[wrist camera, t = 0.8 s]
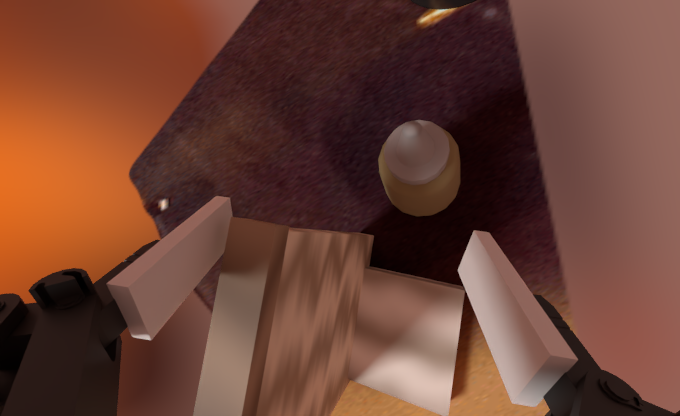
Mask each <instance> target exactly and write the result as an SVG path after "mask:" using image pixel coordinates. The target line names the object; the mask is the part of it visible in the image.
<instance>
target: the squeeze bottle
mask: <svg viewBox="0 0 680 416" xmlns="http://www.w3.org/2000/svg"><path fill="white" fill-rule="evenodd" d="M378 160H379V172H380V176H381V179H382V182H383V185H384V188H385V191H386V193H387V195H388V197H389V199H390V200H391V202H392V204H393V205H394V206H396V207H397V208H398V209H399V210H401V211H402V212H403V213H407V214H410V215H413V216H417V217H418V216H429V215H434V214H436V213H438V212H440V211H442V210H444V209H446V208H447V206H448V205H449V204H450V203H451V202H452V201H453V200H454V198H455V197H456V195H457V192H458V188H459V185H460V156H459V149H458V145H457V143H456V142H455V140H454V139H453V137H452V136H451V134H450V133H449V132H447V131H445V130H444V129H442V128H441V127H439V126H437V125H435V124H434V123H432V122H429V121H423V120H415V121H410V122H406V123H404V124H403V125H401V126H399V127H398V128H396V129H395V130H394V131H393V132H392V134H391V135H390V136H389V137H388V139H387V141H386V142H385V143H384V145H383V147H382V150H381V153H380V156H379V159H378Z"/></svg>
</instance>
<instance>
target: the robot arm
mask: <svg viewBox="0 0 680 416" xmlns="http://www.w3.org/2000/svg"><path fill="white" fill-rule="evenodd" d="M411 1H412V2H414V3H416V4H418V5H420V6H422V7H426V8H431V9H449V8H455V7H459V6H463V5H466V4H468V3H471V2H473V1H475V0H411ZM231 217H232V210H231V203H230V198H228V197H220V196H216V197H215V198H213V199H212V200H211V201H210V202H208V203H207V204H206V205H204V206H203V207H202V208H201V209H199V210H198V211H197V212H196V213H194V214H193V215H192V216H191V217H189V218H188V219H187V220H186V221H184V222H183V223H182V224H181V225H179V226H178V227H177V228H176V229H174V230H173V231H172V232H171V233H169V234H168V235H167V236H166V237H164V238H163V239H162V240H155V241H153V242H151V243H149V244H146V245H144V246H143V247H141V248H140V249H139V250H137V251H136V252H135V253H133V255H131V256H129V257H128V258H127V259H125V260H124V262H121V263H120V264H119V265H118V266H116V267H115V268H114V269H112V270H111V271H110V272H108V273H107V274H106V275H104V276H103V277H102V278H101V279H99V280H98V281H96V282H95V283H94V284H93V283H92V281H91V279H90V278H89V276H88V274H87V272H86V271H84V270H82V269H75V268H73V269H66V270H62V271H59V272H56V273H52V274H50V275H48V276H46V277H44V278H42V279H41V280H39V281H38V282H37V283H35V284H33V286H32V287H31V288H30V289H29V292H30V293H31V295H32V296H33V298H34V299H35V300H36V302H37V303H29V304H25V303H24V302H23V300H22V299H21V298H20V296H19V295H16V294H1V295H0V416H117V403H118V389H119V373H120V360H121V345H122V341H121V337H120V334H121V333H122V332H123V331H124V330H125V329H126V328H127V327H128V329H129V331H130V333H131V335H132V337H136V338H142V339H147V340H152V339H153V338H154V336H155V335H156V334H157V333H158V332H159V330H160V329H161V328H162V327H163V325H164V324H165V323H166V322H167V321H168V319H169V318H170V317H171V316H172V315H173V313H174V312H175V311H176V310H177V308H178V307H179V306H180V305H181V304H182V303H183V301H184V300H185V299H186V298H187V297H188V295H189V294H190V293H191V292H192V290H193V289H194V288H195V287H196V286H197V284H198V283H199V282H200V281H201V280H202V278H203V277H204V276H205V275H206V274H207V272H208V271H209V270H210V269H211V268H212V266H213V265H214V264H215V263H216V261H217V260H218V259H219V258H220V257H221V255H222V254H223V253H224V250H225V245H226V240H227V235H228V229H229V224H230V219H231ZM458 273H459V275H460V278H461V280H462V283H463V285H464V288H465V290H466V292H467V295H468V297H469V300H470V302H471V305H472V307H473V309H474V312H475V314H476V317H477V319H478V322H479V324H480V326H481V329H482V331H483V334H484V336H485V339H486V341H487V344H488V346H489V348H490V351H491V353H492V356H493V358H494V361H495V363H496V365H497V368H498V370H499V373H500V375H501V378H502V380H503V382H504V385H505V387H506V390H507V392H508V395H509V397H510V399H511V402H512V403H514V404H520V405H525V406H531V407H536V406H537V405H538V404H539V403H540V401H541V400H542V399H543V398H544V399H545V401H546V403H547V405H548V407H549V409H550V411H549V412H548V413H547V414H546V415H545V416H680V411H678V412H677V413H672V412H670V411H668V410H665V409H663V408H660V407H658V406H655V405H653V404H651V403H648V402H646V401H644V400H642V399H641V397H640V396H639V394H638V393H637V392H636V391H635V390H634V389H632V388H631V387H630V386H629V385H628V384H627V383H626V382H624V381H623V380H621V379H620V378H618V377H617V376H615V375H613V374H611V373H609V372H607V371H604V370H601V369H600V367H599V366H598V365H597V363H596V362H595V361H594V359H593V358H592V357H591V355H590V354H589V353H588V351H587V350H586V349H585V347H584V346H583V345H582V343H581V342H580V341H579V339H578V338H577V337H576V335H575V334H574V333H573V331H571V330H570V328H569V326H568V325H567V324H566V322H565V321H563V320H562V317H561V316H560V314H559V313H558V312H557V310H556V309H555V308H554V306H553V305H551V304H550V303H549V302H548V301H547V300H545V299H544V298H543V297H542V296H541V295H534V294H532V293H531V292H530V290H529V289H528V287H527V286H526V284H525V283H524V282H523V280H522V279H521V277H520V276H519V274H518V273H517V272H516V270H515V269H514V267H513V266H512V264H511V263H510V262H509V260H508V259H507V257H506V256H505V254H504V253H503V252H502V250H501V249H500V247H499V246H498V244H497V243H496V242H495V240H494V239H493V237H492V236H491V234H490V233H489V232H483V231H476V230H474V231H473V233H472V236H471V238H470V241H469V243H468V246H467V248H466V251H465V253H464V256H463V258H462V261H461V263H460V266H459V268H458Z"/></svg>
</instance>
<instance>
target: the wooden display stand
mask: <svg viewBox="0 0 680 416" xmlns="http://www.w3.org/2000/svg"><path fill="white" fill-rule="evenodd" d="M373 240H374V235H369V234H363V233H353V232H340V231H326V230H312V229H298V228H289V226H285V225H279V224H274V223H268V222H263V221H258V220H252V219H246V218H237V217H231V219H230V224H229V229H228V235H227V240H226V245H225V250H224V256H223V261H222V266H221V272H220V277H219V282H218V287H217V293H216V298H215V303H214V308H213V314H212V319H211V324H210V330H209V335H208V340H207V345H206V351H205V356H204V361H203V366H202V372H201V377H200V382H199V388H198V393H197V398H196V403H195V409H194V414H193V416H330V415H331V413H332V411H333V410H334V408H335V406H336V404H337V403H338V401H339V399H340V397H341V395H342V394H343V392H344V390H345V388H346V387H347V385H348V383H349V381H350V380H352V381H355V382H357V383H360V384H362V385H365V386H368V387H370V388H373V389H375V390H378V391H381V392H383V393H386V394H388V395H391V396H393V397H396V398H399V399H401V400H404V401H406V402H409V403H412V404H414V405H417V406H419V407H422V408H425V409H427V410H430V411H432V412H435V413H437V414H440V415H443V416H448V414H449V406H450V399H451V392H452V384H453V377H454V369H455V362H456V354H457V347H458V339H459V332H460V324H461V317H462V309H463V302H464V294H465V290H464V288H463V287H462V286H459V285H454V284H449V283H445V282H440V281H436V280H431V279H426V278H422V277H417V276H413V275H408V274H403V273H399V272H394V271H390V270H385V269H380V268H376V267H371V266H369V265H370V259H371V253H372V246H373Z"/></svg>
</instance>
